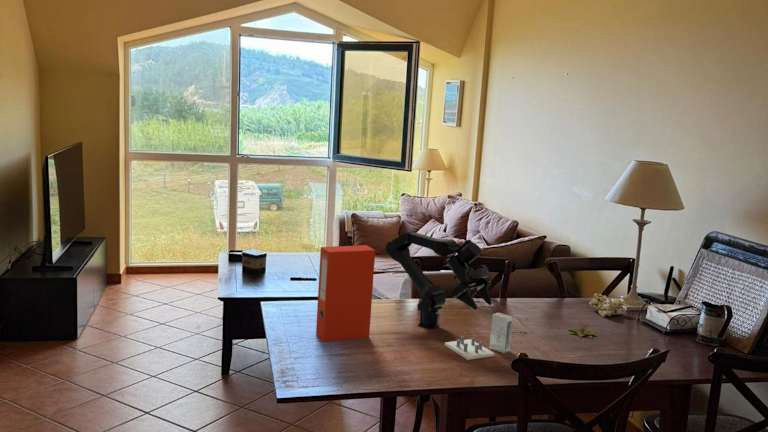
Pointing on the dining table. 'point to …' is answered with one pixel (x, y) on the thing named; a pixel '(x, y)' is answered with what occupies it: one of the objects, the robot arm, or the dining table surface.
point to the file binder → (345, 292)
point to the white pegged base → (469, 348)
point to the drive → (501, 332)
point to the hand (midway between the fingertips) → (483, 306)
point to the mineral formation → (607, 305)
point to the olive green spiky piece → (583, 331)
